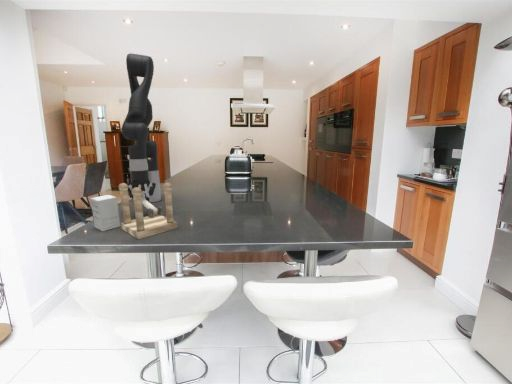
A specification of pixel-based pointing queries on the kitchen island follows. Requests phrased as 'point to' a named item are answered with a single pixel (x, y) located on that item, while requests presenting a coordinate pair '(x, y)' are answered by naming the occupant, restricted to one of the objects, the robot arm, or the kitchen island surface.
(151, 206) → the folding leg
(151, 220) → the wooden post rack
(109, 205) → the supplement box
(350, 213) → the kitchen island surface
